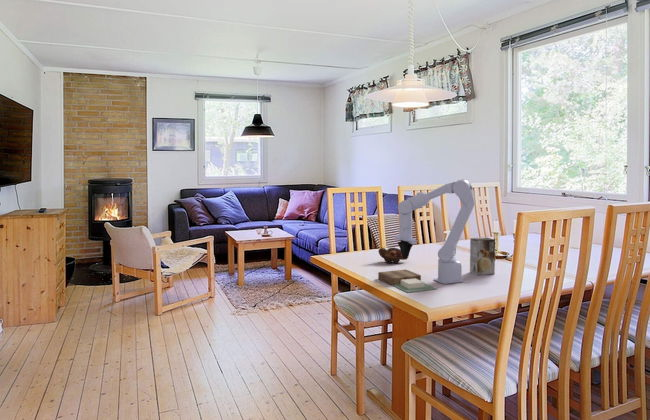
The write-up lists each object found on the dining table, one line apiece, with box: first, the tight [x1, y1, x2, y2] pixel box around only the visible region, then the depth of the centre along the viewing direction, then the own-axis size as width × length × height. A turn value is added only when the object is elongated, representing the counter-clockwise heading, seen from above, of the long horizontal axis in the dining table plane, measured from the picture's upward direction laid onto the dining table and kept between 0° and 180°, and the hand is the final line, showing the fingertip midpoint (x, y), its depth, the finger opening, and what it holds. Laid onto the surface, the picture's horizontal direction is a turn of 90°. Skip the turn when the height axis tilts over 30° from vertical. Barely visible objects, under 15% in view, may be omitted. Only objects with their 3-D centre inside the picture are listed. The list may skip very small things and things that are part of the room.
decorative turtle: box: [378, 247, 408, 264], centre depth 238 cm, size 10×15×8 cm, turn 99°
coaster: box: [401, 278, 425, 289], centre depth 192 cm, size 7×7×2 cm
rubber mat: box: [391, 282, 438, 294], centre depth 191 cm, size 14×12×1 cm
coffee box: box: [469, 237, 496, 276], centre depth 214 cm, size 9×6×16 cm
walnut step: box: [377, 269, 422, 286], centre depth 201 cm, size 14×12×3 cm
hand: (405, 258), depth 206 cm, fingers closed
